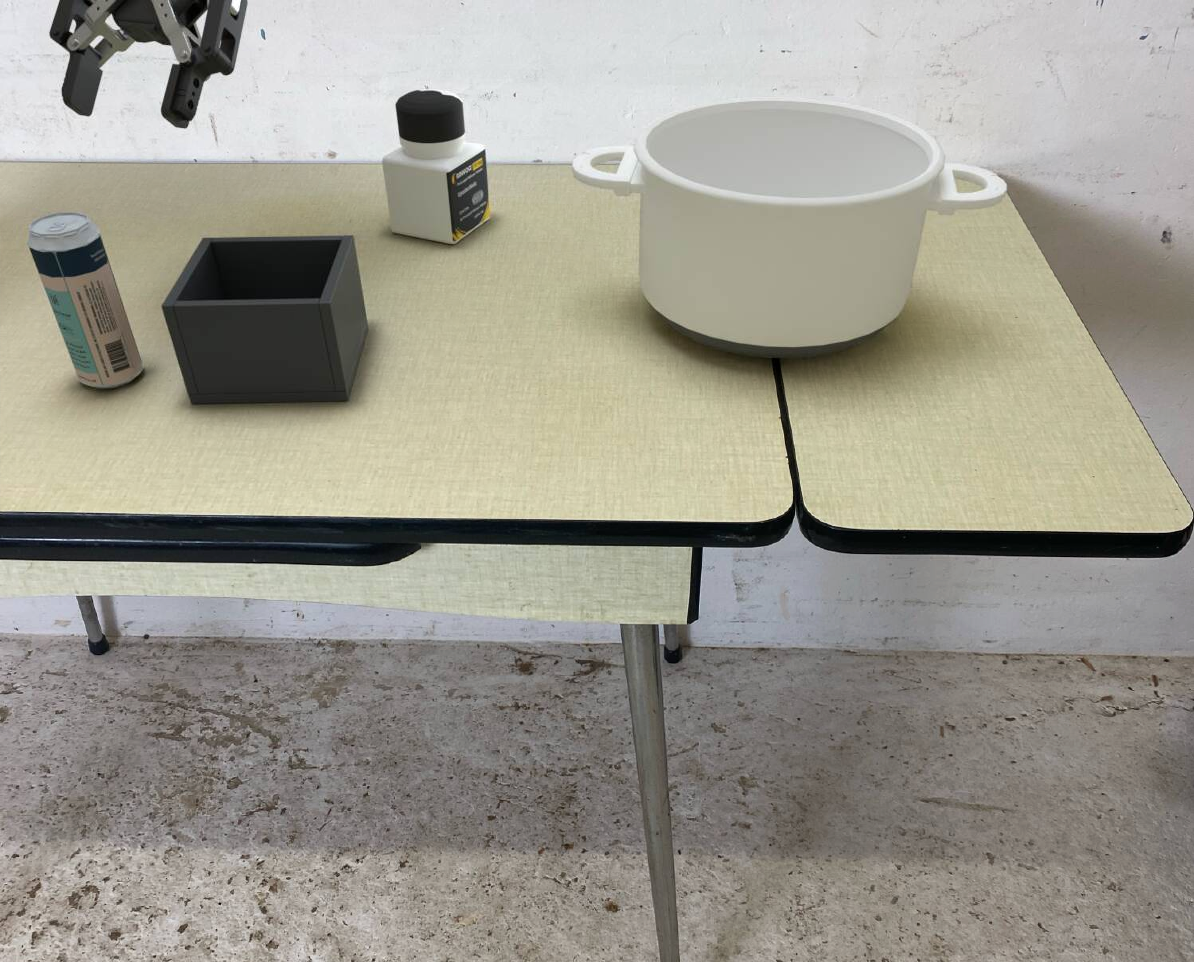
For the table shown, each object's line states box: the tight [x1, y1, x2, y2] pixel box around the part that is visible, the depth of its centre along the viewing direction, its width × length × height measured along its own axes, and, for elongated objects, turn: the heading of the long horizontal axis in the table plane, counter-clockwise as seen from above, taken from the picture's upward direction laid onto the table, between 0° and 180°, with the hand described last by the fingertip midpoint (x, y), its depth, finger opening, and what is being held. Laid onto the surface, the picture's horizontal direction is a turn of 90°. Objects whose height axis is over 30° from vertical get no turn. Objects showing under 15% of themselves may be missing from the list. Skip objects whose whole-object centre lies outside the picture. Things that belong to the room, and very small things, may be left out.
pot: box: [571, 96, 1008, 359], centre depth 84 cm, size 33×23×14 cm
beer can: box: [26, 211, 145, 389], centre depth 76 cm, size 5×5×12 cm
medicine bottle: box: [381, 88, 491, 245], centre depth 98 cm, size 7×7×12 cm
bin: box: [161, 234, 369, 405], centre depth 79 cm, size 12×12×8 cm
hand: (123, 116), depth 76 cm, fingers open, 8 cm apart
